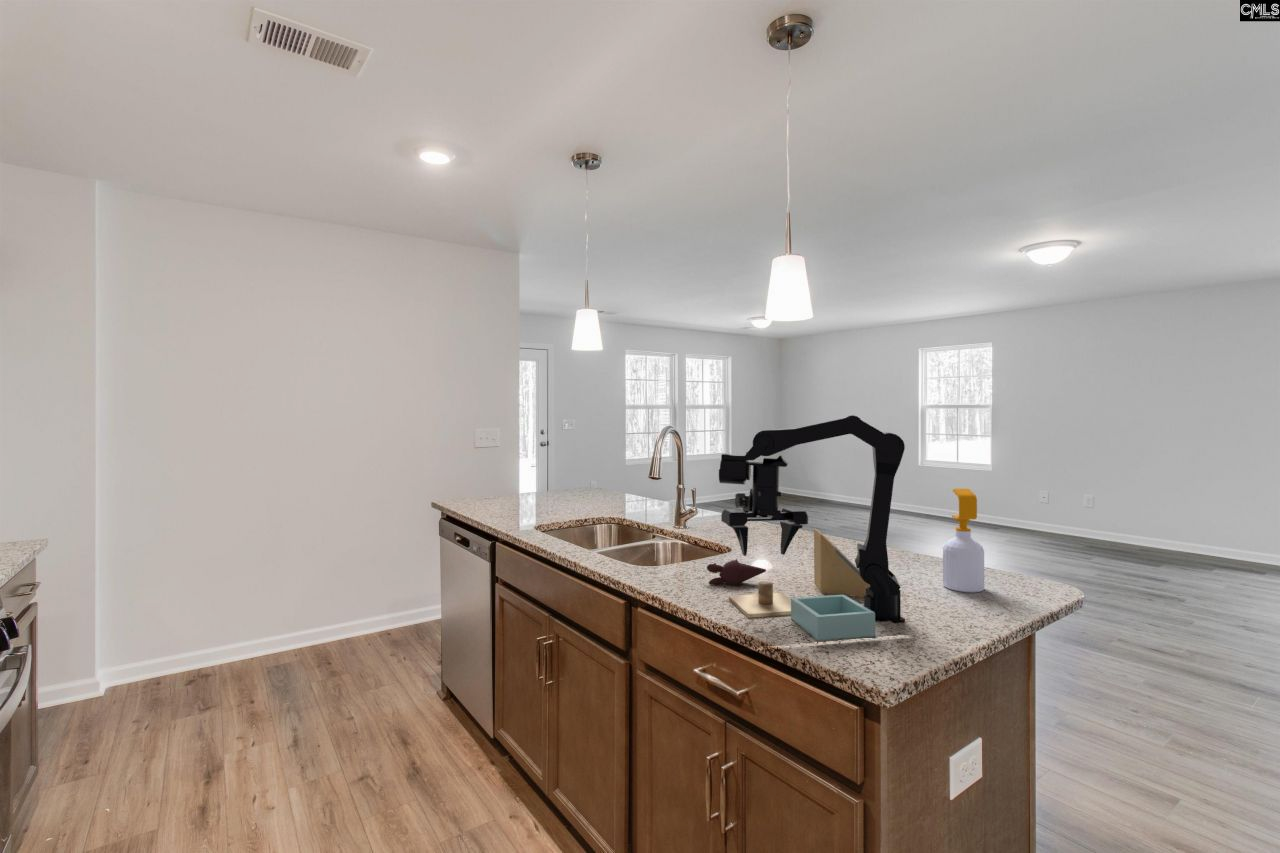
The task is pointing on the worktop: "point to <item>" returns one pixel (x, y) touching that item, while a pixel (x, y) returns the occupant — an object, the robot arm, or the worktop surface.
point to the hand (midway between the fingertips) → (763, 554)
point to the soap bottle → (964, 550)
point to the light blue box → (833, 617)
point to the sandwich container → (835, 569)
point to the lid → (763, 602)
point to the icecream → (733, 572)
